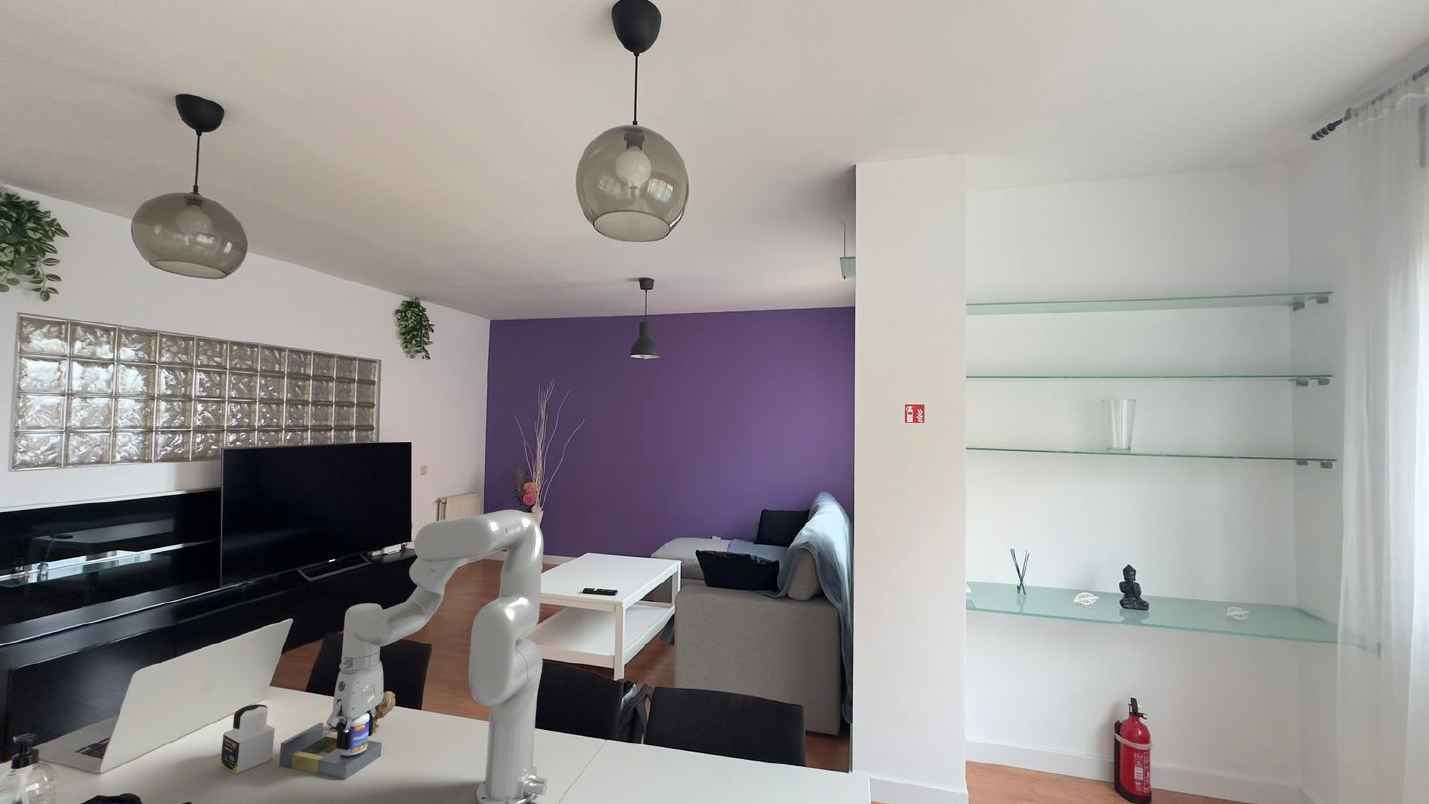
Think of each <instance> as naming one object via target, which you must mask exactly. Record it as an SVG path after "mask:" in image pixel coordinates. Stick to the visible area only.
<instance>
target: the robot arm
mask: <svg viewBox="0 0 1429 804" xmlns="http://www.w3.org/2000/svg"><path fill="white" fill-rule="evenodd" d="M413 549H414V553H415V555H416V556H417V558H416V559H415V561H414V562H413V563H412V564H411V566H410V568H409V571H408V572H409V573H408V574H409V577H410V579H411V581H412V582H413V583H414V584H415V585H416V586H417V587H416V588H415V589H414V591H412V594H411V595H410V596H409V597H408V598H407V600H406V601H405V602H402V603H399V604H395V605H394V606H390V607H388V608H385V609H383V608H382V606H381V604H378V603H372V602H371V603H370V602H368V603H359V604H355V605H352V606H350V607H349V608H348V609H347V610H346V611H345V614H344V615H345V616H344V626H343V638H342V639H343V640H342V652H341V653H342V654H341V663H340V664H339V666H338V667H339V669H340V671H339V673H338V675H337V680H336V684H335V688H334V689H335V690H334V696H333V701H332V702H333V704H332V705H333V706H332V712H331V713H330V714H329V717H328V719H327V720H326V725H327V726H330V728H331V727H332V728H334V729H333V730H334V731H335V732H337V733H336V734H337V743H336V748H338V749H343V750H348V749H350V744H351V731H350V730H349V729H350V725H351V722H352V719H354V718H356V717H358V716H360V715H361V714H363V713H365V712H367V713H368V714H369V716H370V717H369V731H368V737H372V736H373V734H374V733H373V719H374V718H373V717H375V715H376V710H377V708H378V707H379V705H380V703H381V702H382V699H383V697H384V696H385V694H384V693H385V692H384V670H383V664H382V661H381V660H380V654H381V653H380V652H381V647H384V646H387V645H390V644H392V643H395V642H397V641H399V640H401V639H403V638H405V637H407V636H410V635H412V634H415V633H416V632H418V631H420V630H421V629H422V628H424V626H425V625H426V624H428V622H429V621H430V620H431V618H432V616H434V614H435V613H436V612H437V611H438V608H439V607H440V606H441V604H442V602H443V599H444V595H445V589H446V588H445V586H446V584H447V582H448V581H449V580H450V579H451V577H452V575H453V574H454V573H455V571H456V570H457V569H458V568H459V566H460V565H461V563H462V562H463V561H464V560H466V559H467V560H468V559H474V558H481V557H485V556H489V555H491V554H494V553H499V552H501V551H503V550H506V557H505V559H504V561H503V565H502V567H501V571H500V585H499V591H498V597H497V598H496V599H495V600H492V601H490V602H488V603H486V604H485V605H484V606H483V607H481V608H480V610H479V611H478V612H477V614H476V615H475V618H474V621H473V623H472V628H471V633H470V634H471V635H470V645H469V646H470V648H469V664H468V685H469V690H470V691H469V692H470V695H471V696H472V697H473V699H474V700H475V701H476V702H477V703H478V704H480V705H481V706H484V707H489V719H488V730H487V731H488V732H487V747H486V748H487V749H486V763H485V764H486V765H485V779H484V781H483V782H481V783H480V784H479V786H477V787H478V788H477V789H476V794H475V795H476V797H475V799H476V802H477V804H528V803H529V802H530V801H532V800H533V799H534V798H535V797H536V796H537V795H539V796H545V795H546V793H547V790H548V785H547V783H548V778H545V777H539V776H538V775H537V773H538V772H537V771H538V768H537V767H534V766H533V763H534V762H533V760H534V749H535V748H534V747H535V746H534V745H535V731H536V730H535V729H536V715H537V714H536V713H537V712H536V711H537V701H538V700H537V699H538V698H537V697H538V691H539V686H540V682H541V681H540V680H541V675H542V673H543V670H542V669H543V655H542V652H541V649H540V647H539V645H537V643H536V642H534V641H532V640H531V639H527V638H524V637H525V636H526V635H528V634H529V633H531V632H532V631H533V630H534V629H535V628H536V626H537V624H538V622H539V619H540V608H541V594H542V593H541V589H542V569H543V557H544V536H543V533H542V530H541V528H540V525H539V523H537V521H536V520H535V519H534V518H533V517H532V516H531V515H529V514H528V513H526V512H524V511H522V510H517V509H503V510H497V511H494V512H489V513H483V514H478V515H474V516H469V517H451V518H446V519H440V520H437V521H432V522H429V523H427V524H425V525H424V526H423V527H422V528H420V529H419V531H418V532H417V534H416V536H415V539H414V542H413ZM344 719H347V720H346V722H345V725H344V724H343V720H344Z"/></svg>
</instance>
